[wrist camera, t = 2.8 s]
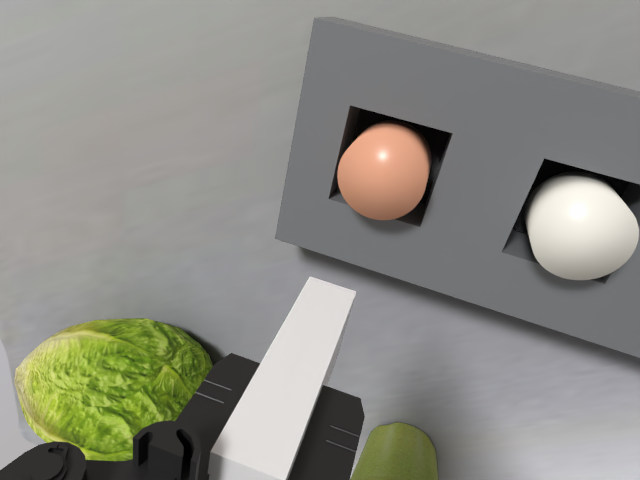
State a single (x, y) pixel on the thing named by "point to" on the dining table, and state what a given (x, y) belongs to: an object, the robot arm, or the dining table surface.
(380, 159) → the peach rounded knob
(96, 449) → the lettuce
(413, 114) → the button console
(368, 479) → the plant pot
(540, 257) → the cream button
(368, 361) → the dining table surface
